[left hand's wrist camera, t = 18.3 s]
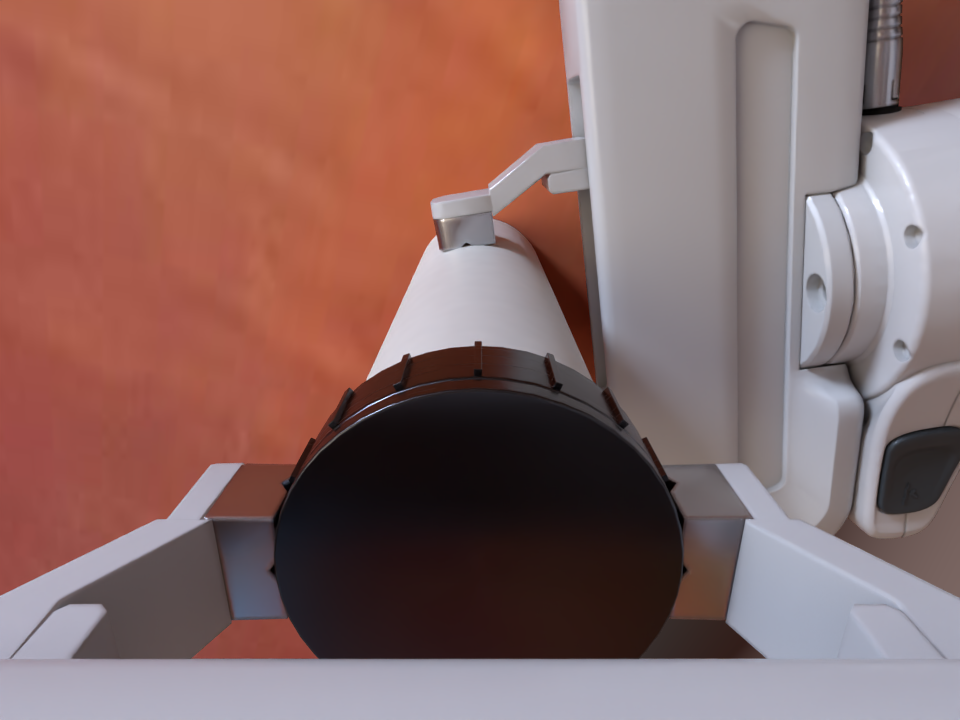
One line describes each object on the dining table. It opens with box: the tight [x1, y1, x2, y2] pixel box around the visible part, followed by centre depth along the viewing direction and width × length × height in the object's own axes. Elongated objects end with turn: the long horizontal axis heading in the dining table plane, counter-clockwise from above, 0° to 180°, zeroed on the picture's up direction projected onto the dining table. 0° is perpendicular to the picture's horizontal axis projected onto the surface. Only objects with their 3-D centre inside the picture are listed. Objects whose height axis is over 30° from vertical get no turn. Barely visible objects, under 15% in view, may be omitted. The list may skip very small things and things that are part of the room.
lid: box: [274, 341, 684, 659], centre depth 9 cm, size 6×6×2 cm
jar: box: [366, 219, 592, 381], centre depth 17 cm, size 5×5×17 cm
